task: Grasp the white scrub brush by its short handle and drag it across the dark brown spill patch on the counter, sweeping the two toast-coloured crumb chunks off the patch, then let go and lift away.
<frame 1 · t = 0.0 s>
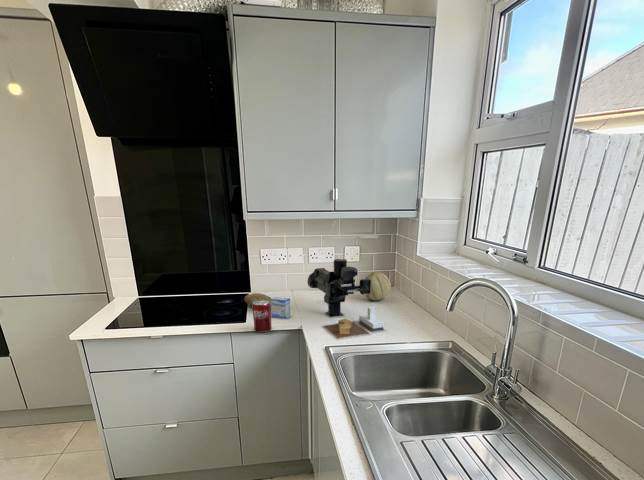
hand: (358, 292, 163), 17 cm above the countertop, tool horizontal, fingers open, 9 cm apart
soda can: (263, 330, 171), on the countertop
cantaloupe: (375, 300, 214), on the countertop
brush: (370, 326, 175), on the countertop
medicine box: (281, 317, 188), on the countertop
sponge: (259, 308, 202), on the countertop
crumb a: (344, 327, 174), resting on spill patch
spill patch: (345, 330, 171), on the countertop
crumb b: (344, 332, 167), resting on spill patch
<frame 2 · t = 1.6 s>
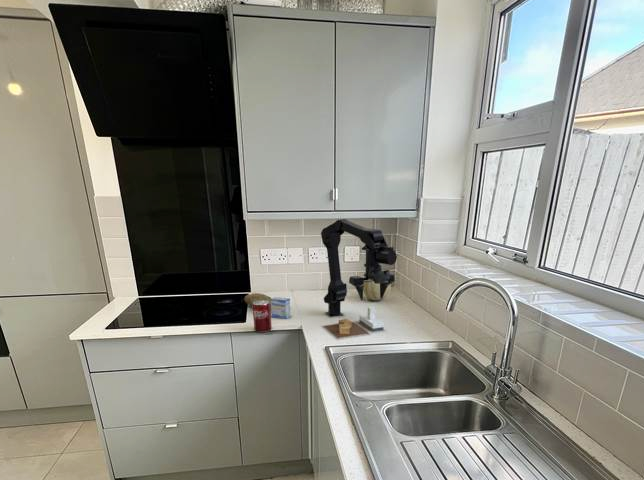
hand: (371, 299, 170), 12 cm above the countertop, tool pointing down, fingers open, 9 cm apart
nothing on the countertop moved.
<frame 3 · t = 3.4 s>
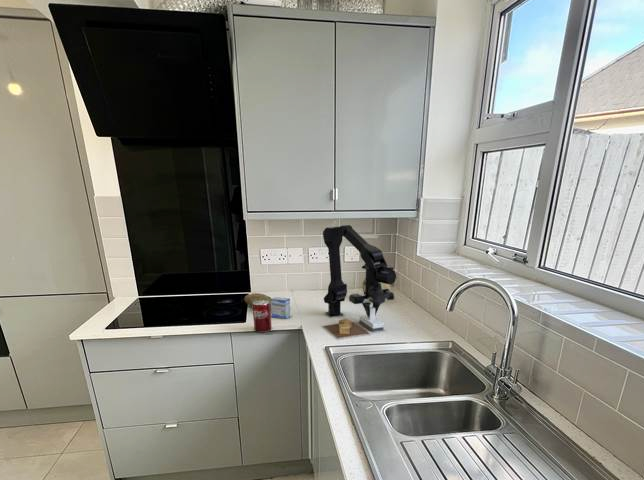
hand: (371, 316, 173), 5 cm above the countertop, tool pointing down, fingers closed on brush, 2 cm apart
brush: (370, 326, 175), on the countertop, touching gripper
everything else where it was.
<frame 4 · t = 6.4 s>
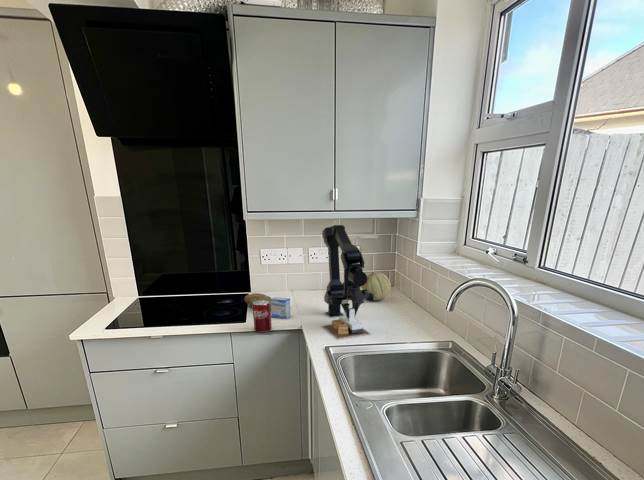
hand: (350, 317, 170), 5 cm above the countertop, tool pointing down, fingers closed on brush, 2 cm apart
brush: (350, 327, 171), point 1 cm above the countertop, touching gripper
crumb a: (337, 327, 173), resting on spill patch
crumb b: (342, 332, 167), resting on spill patch
everything else where it was.
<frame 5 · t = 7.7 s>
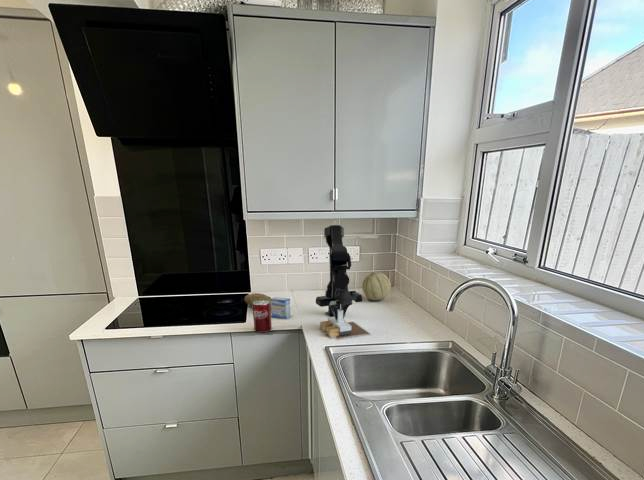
hand: (339, 319, 168), 5 cm above the countertop, tool pointing down, fingers closed on brush, 2 cm apart
brush: (339, 329, 169), point 1 cm above the countertop, touching crumb a, gripper
crumb a: (326, 329, 171), on the countertop, touching brush
crumb b: (333, 334, 165), on the countertop, touching spill patch
everything else where it was.
when the fingers open (5 cm above the countertop, at t = 9.6 s): brush stays where it is, on the countertop.
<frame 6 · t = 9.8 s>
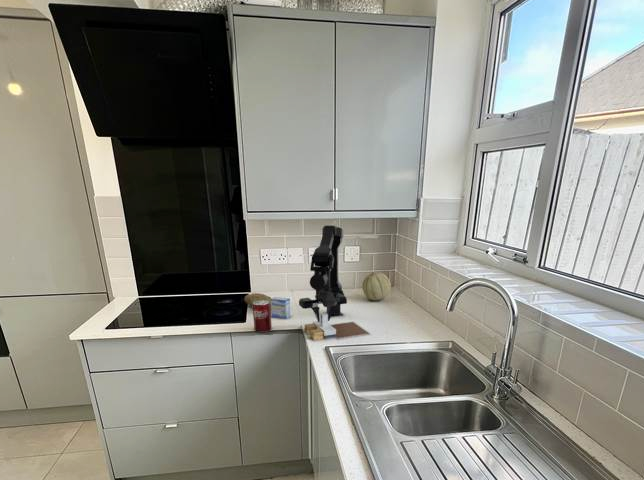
hand: (323, 321, 165), 5 cm above the countertop, tool pointing down, fingers open, 4 cm apart
brush: (324, 333, 167), on the countertop
crumb a: (310, 332, 169), on the countertop
crumb b: (317, 338, 162), on the countertop
everything else where it was.
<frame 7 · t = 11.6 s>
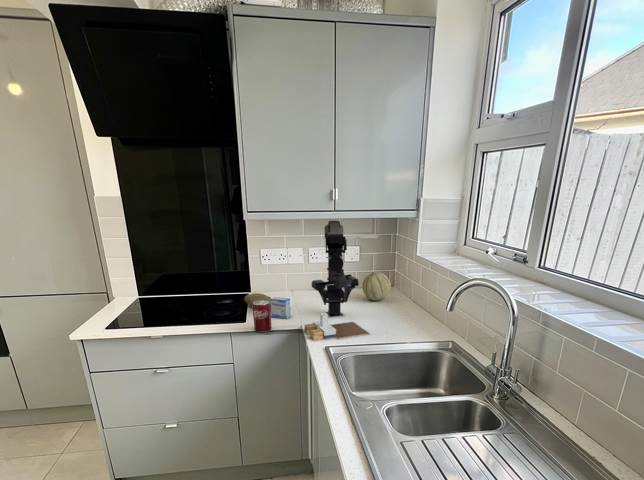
hand: (335, 303, 168), 11 cm above the countertop, tool pointing down, fingers open, 9 cm apart
nothing on the countertop moved.
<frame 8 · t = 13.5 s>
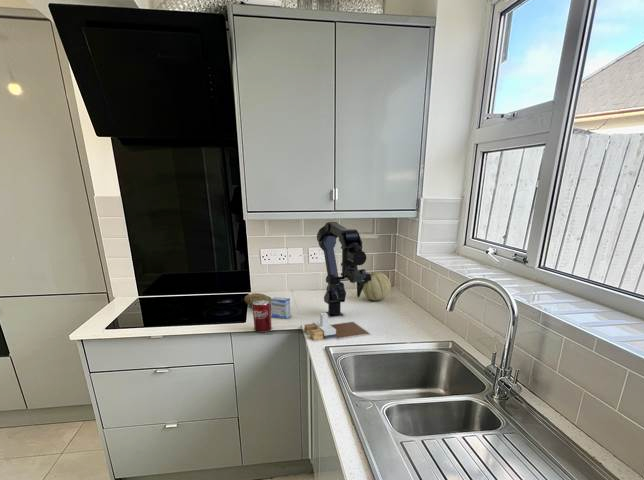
hand: (348, 298, 173), 12 cm above the countertop, tool pointing down, fingers open, 9 cm apart
nothing on the countertop moved.
at the end: crumb a inside the target area (6.2 cm from its centre), on the countertop; crumb b inside the target area (6.4 cm from its centre), on the countertop; brush moved 21.7 cm from its start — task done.
